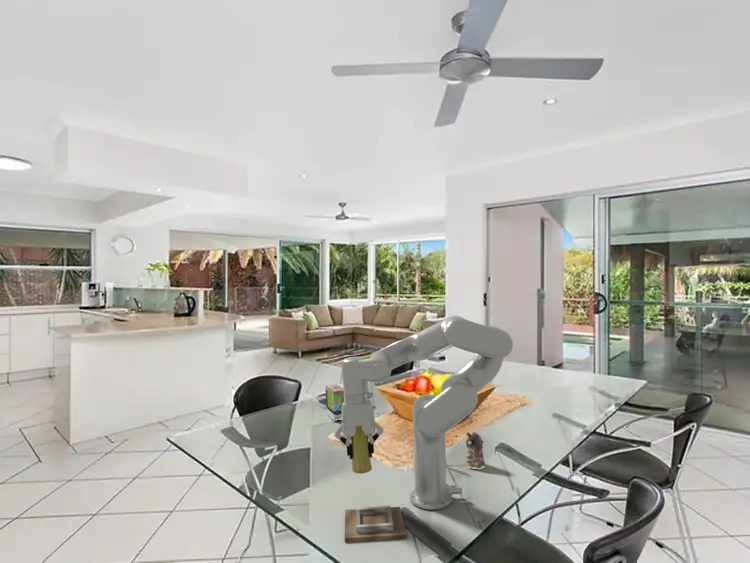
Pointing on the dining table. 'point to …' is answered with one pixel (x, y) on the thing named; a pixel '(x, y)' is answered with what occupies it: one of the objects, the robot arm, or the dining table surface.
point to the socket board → (374, 524)
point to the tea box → (334, 400)
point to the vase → (360, 452)
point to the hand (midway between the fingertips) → (360, 456)
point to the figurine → (474, 451)
